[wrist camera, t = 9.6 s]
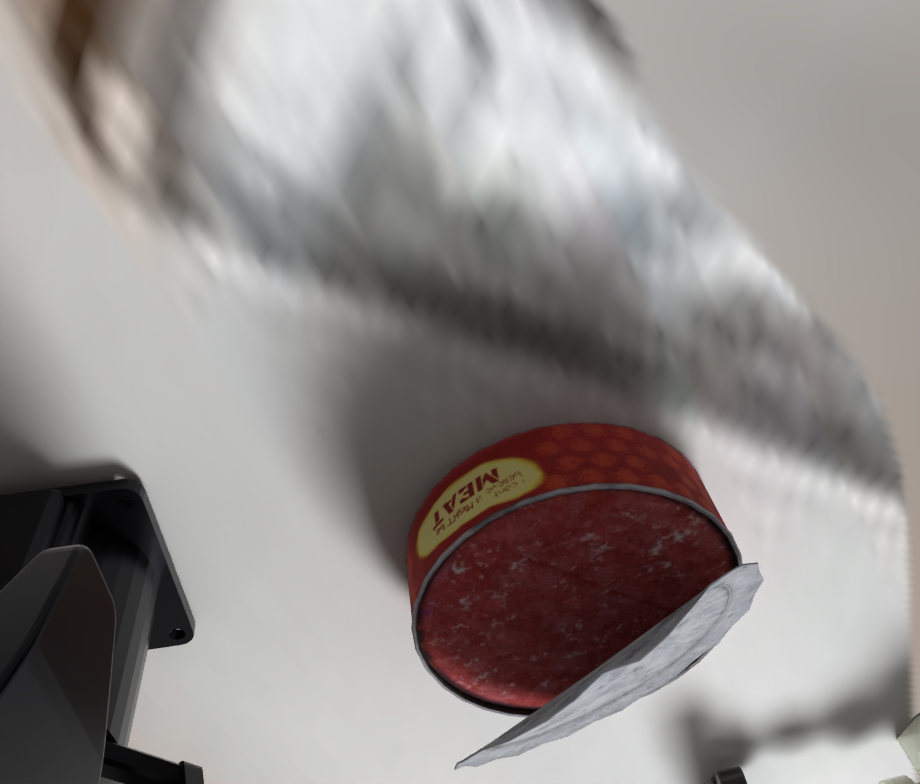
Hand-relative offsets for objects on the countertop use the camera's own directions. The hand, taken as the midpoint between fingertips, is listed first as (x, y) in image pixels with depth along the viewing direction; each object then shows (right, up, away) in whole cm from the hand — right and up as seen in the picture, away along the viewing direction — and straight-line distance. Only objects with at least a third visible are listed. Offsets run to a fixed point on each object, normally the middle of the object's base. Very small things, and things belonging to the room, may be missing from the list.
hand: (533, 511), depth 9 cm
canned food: (+2, -3, +19) cm, 20 cm away
